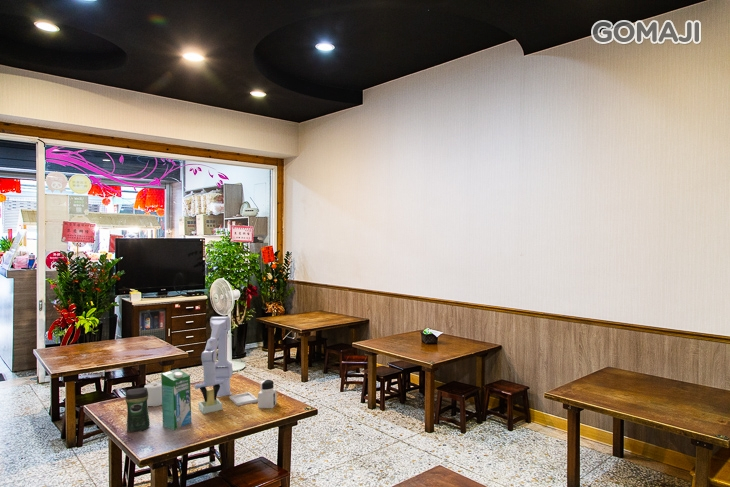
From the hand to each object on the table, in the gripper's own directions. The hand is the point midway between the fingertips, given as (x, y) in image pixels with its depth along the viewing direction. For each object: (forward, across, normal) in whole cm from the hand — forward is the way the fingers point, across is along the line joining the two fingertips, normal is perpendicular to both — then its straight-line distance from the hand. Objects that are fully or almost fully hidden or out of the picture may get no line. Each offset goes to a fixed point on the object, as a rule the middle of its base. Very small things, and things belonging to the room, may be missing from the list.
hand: (210, 400), depth 240 cm
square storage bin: (+5, 0, 0) cm, 5 cm away
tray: (+5, +18, +3) cm, 19 cm away
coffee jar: (+5, -34, -5) cm, 35 cm away
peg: (+4, 0, 0) cm, 4 cm away
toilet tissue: (+5, -22, +28) cm, 36 cm away
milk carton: (+5, -18, -11) cm, 22 cm away
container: (+5, +26, -12) cm, 29 cm away
